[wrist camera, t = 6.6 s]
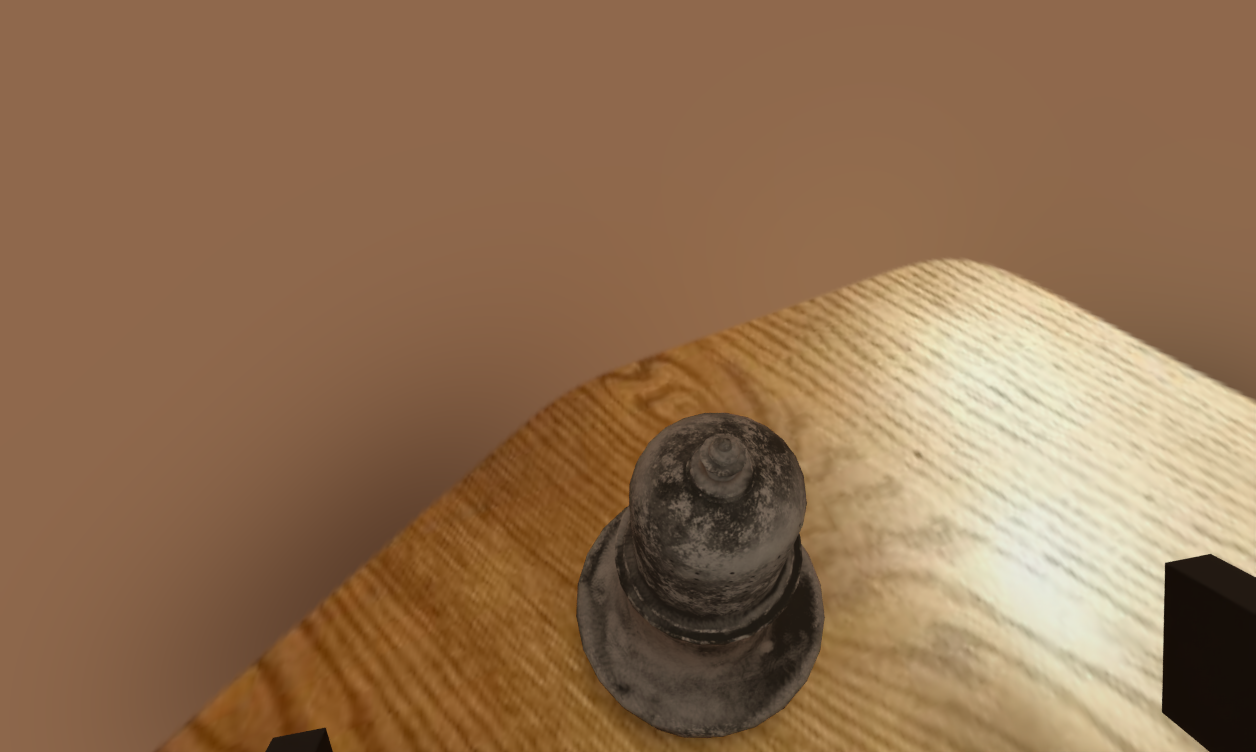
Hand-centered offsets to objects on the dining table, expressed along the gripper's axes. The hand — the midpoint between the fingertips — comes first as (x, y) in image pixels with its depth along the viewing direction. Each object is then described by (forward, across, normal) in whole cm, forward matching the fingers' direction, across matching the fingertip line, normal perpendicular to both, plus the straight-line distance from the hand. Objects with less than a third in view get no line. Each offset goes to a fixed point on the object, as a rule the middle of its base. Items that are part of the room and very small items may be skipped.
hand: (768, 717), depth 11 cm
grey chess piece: (+9, 0, -4) cm, 10 cm away
